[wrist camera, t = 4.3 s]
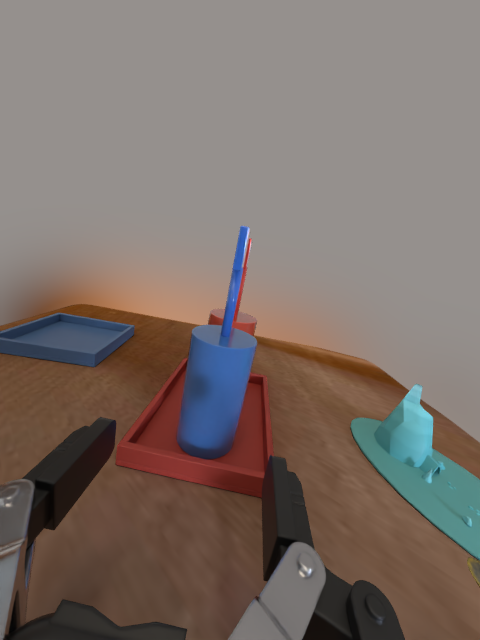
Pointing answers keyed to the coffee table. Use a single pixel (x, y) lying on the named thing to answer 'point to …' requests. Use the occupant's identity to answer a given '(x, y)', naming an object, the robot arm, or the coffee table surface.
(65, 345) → the blue tray
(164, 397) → the red tray
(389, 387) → the coffee table surface
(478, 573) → the magic lamp
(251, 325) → the red spoon pot
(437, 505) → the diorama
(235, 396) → the blue pot
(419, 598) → the coffee table surface
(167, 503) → the coffee table surface
